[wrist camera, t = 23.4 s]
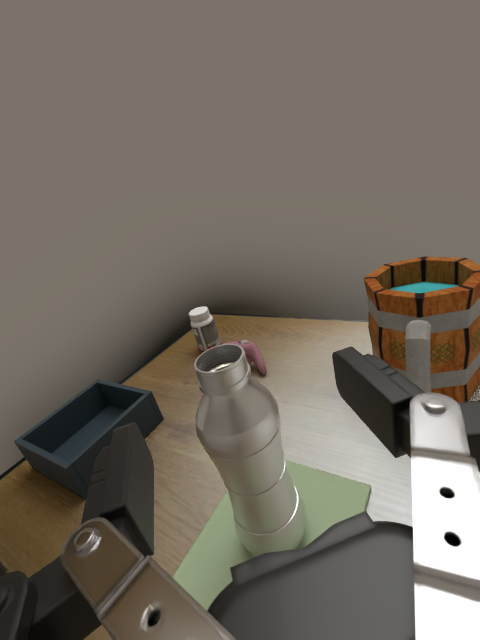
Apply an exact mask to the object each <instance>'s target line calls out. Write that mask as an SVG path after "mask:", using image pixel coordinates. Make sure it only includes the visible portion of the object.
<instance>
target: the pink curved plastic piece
mask: <svg viewBox="0 0 480 640" xmlns="http://www.w3.org/2000/svg"><path fill="white" fill-rule="evenodd" d="M225 344H237V345H239V346H241V347H242V348H243V350H244V352H245V355H246V359H247V362H248V363H249V365H250V366H251V361H253V362H254V363H255V364H256V366H257V368H258V369H259V371H260V372H261V373H262V374H263V375H264V374H265V373H266V367H265V363H264V360H263V357H262V355H261V353H260V351H259V349H258V347H257V346H256V344H255V343H253V342H251V341H247V340H239V341H232V342H228V343H225Z"/></svg>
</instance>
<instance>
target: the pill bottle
mask: <svg viewBox="0 0 480 640" xmlns="http://www.w3.org/2000/svg"><path fill="white" fill-rule="evenodd" d="M189 316H190V319H191V327H192V329H193V332H194V335H195V338H196V341H197V344H198V346H199V349H200V350H201V351H206V350H208V349H210V348H213V347H215V346H218V345H220V343H221V341H220V338H219V335H218V332H217V329H216V326H215V322H214V319H213V317H212V316H211V315H210V313H209V310H208V308H207V307H198V308H195V309H193V310H191V311H190V312H189Z"/></svg>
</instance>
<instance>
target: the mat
mask: <svg viewBox="0 0 480 640" xmlns="http://www.w3.org/2000/svg"><path fill="white" fill-rule="evenodd" d="M285 462H286V466H287V469H288V471H289V474H290V476H291V479H292V481H293V484H294V485H295V487H296V488H297V490H298V492H299V494H300V496H301V498H302V500H303V503H304V506H305V512H306V527H305V533H304V536H303V539H302V541H301V542H300V544H299V545H298V547H297V548H296V549H301V548H304V547H306V546H307V545H308V544H310V543H311V542H312V541H313V540H315V539H316V538H317V537H318V536H320V535H321V534H322V533H323V532H325V531H326V530H327V529H328V528H330V527H331V526H332V525H333V524H335V523H338V522H340V521H342V520H345V519H347V518H350V517H352V516H354V515H357V514H359V513H362V512H364V511H366V507H367V503H368V499H369V495H370V491H371V485H368V484H365V483H362V482H358V481H355V480H351V479H348V478H345V477H341V476H338V475H334V474H331V473H328V472H324V471H321V470H318V469H314V468H311V467H307V466H304V465H301V464H297V463H294V462H290V461H287V460H285ZM254 557H255V556H253V555H252V554H251V553H250V552H249V551H248V550H247V549H246V548H245V546H244V545H243V544H242V543H241V541H240V540H239V538H238V536H237V533H236V529H235V524H234V519H233V508H232V504H231V501H230V497H229V493H228V490H227V492H226V494H225V495H224V497H223V498H222V500H221V501H220V503H219V505H218V506H217V508H216V509H215V511H214V513H213V514H212V516H211V517H210V519H209V521H208V522H207V524H206V525H205V527H204V528H203V530H202V532H201V533H200V535H199V536H198V538H197V540H196V541H195V543H194V544H193V546H192V548H191V549H190V551H189V552H188V554H187V556H186V557H185V559H184V560H183V562H182V563H181V565H180V567H179V568H178V570H177V571H176V573H175V575H174V576H173V579H174V580H175V581H176V582H177V583H178V584H180V585H181V586H182V587H183V588H184V589H185V590H186V591H187V592H188V593H189V594H190V595H191V596H192V597H193V598H194V599H195V600H196V601H197V602H198V603H199V604H200V605H201V606H202V607H203V608H204V609H205V610H206V611H207V610H208V608H209V607H210V605H211V603H212V602H213V601H214V599H215V598H216V597H217V596H218V594H219V593H220V592H221V591H222V590H223V589H224V588H225V587H226V586H227V585H228V584H229V583H231V582H232V581H233V580H232V575H231V570H230V567H233V566H235V565H237V564H240V563H242V562H245V561H247V560H249V559H252V558H254Z"/></svg>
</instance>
